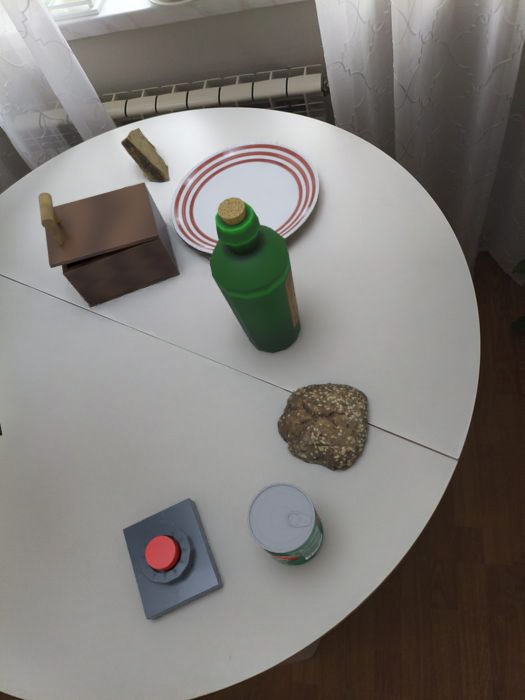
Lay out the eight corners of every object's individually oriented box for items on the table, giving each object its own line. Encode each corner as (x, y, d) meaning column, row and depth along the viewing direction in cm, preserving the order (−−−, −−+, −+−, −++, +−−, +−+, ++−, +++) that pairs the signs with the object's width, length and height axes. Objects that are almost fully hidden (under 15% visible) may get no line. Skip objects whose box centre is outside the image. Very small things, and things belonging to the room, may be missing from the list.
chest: (91, 307, 98) (62, 274, 89) (82, 254, 104) (55, 219, 96) (179, 274, 97) (159, 238, 89) (165, 224, 104) (146, 185, 96)
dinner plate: (147, 216, 106) (141, 204, 103) (252, 133, 111) (248, 119, 108) (239, 293, 93) (235, 281, 90) (353, 194, 98) (352, 181, 96)
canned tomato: (259, 561, 72) (240, 546, 62) (270, 500, 75) (253, 478, 66) (320, 571, 70) (309, 558, 60) (328, 508, 73) (319, 486, 64)
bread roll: (376, 394, 80) (376, 379, 75) (358, 476, 74) (357, 466, 70) (291, 378, 83) (286, 363, 79) (269, 456, 78) (262, 444, 74)
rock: (129, 138, 115) (111, 168, 109) (140, 106, 108) (122, 136, 102) (176, 164, 117) (162, 195, 112) (190, 135, 111) (175, 165, 105)
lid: (51, 268, 88) (32, 239, 82) (44, 213, 94) (26, 182, 88) (159, 238, 89) (148, 207, 83) (145, 185, 95) (134, 153, 90)
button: (146, 546, 72) (141, 543, 70) (174, 532, 72) (169, 530, 71) (155, 576, 70) (150, 574, 68) (183, 562, 70) (179, 560, 69)
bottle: (320, 317, 88) (294, 189, 64) (283, 370, 84) (241, 257, 60) (265, 292, 92) (221, 164, 68) (228, 342, 89) (169, 225, 65)
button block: (128, 532, 77) (116, 526, 74) (194, 501, 77) (185, 494, 74) (152, 620, 71) (140, 618, 67) (223, 586, 71) (215, 582, 68)
